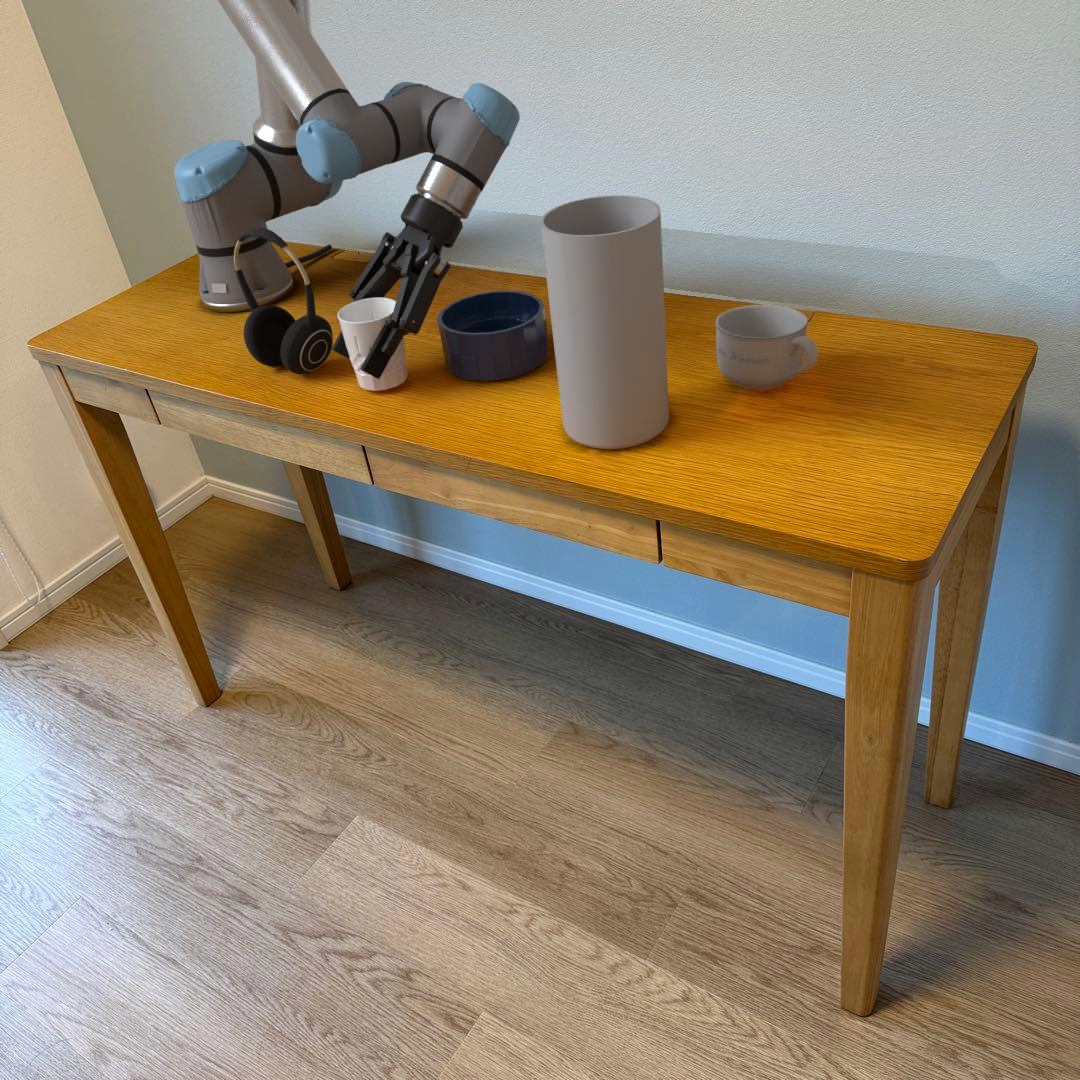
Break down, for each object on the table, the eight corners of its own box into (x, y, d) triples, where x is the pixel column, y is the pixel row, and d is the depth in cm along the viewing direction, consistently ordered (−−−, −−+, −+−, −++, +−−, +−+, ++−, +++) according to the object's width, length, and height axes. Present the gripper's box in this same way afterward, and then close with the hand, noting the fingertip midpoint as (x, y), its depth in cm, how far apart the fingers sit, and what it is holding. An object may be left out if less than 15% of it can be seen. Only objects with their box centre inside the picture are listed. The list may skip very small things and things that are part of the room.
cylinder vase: (542, 434, 119) (515, 225, 104) (607, 390, 126) (591, 190, 111) (625, 463, 111) (609, 243, 97) (690, 415, 118) (684, 204, 104)
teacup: (699, 374, 127) (698, 314, 122) (772, 351, 129) (774, 292, 125) (761, 419, 116) (763, 356, 111) (840, 393, 119) (844, 330, 114)
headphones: (310, 391, 135) (271, 246, 124) (240, 371, 143) (196, 233, 131) (355, 364, 141) (321, 223, 129) (284, 346, 148) (247, 212, 137)
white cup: (381, 361, 139) (366, 293, 133) (424, 372, 135) (410, 302, 129) (341, 386, 134) (324, 316, 128) (384, 398, 130) (368, 326, 124)
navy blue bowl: (457, 339, 144) (449, 293, 139) (555, 335, 141) (550, 287, 137) (436, 386, 132) (427, 337, 128) (542, 381, 130) (536, 331, 126)
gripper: (503, 239, 123) (414, 401, 126) (421, 206, 138) (342, 352, 140) (461, 208, 118) (368, 378, 121) (379, 176, 132) (298, 329, 135)
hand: (354, 363), depth 131 cm, fingers closed on white cup, 8 cm apart
